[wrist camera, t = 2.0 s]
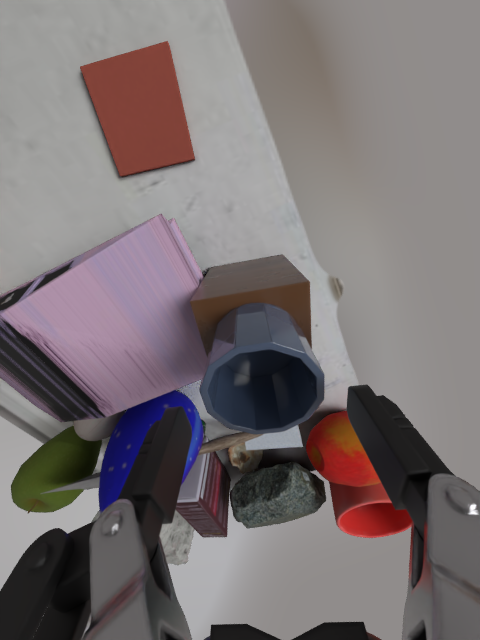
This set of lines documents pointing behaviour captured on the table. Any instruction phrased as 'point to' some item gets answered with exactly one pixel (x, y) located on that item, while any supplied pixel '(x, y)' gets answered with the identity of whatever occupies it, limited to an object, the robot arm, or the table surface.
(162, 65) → the napkin
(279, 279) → the wooden upright block
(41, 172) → the table surface
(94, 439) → the eyeball
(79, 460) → the green oval fruit
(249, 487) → the rock
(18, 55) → the table surface
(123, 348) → the toy car
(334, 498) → the flower pot
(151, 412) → the ornament
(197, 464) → the supplement box
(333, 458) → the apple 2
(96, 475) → the axe
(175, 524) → the decorative stone
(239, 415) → the cup
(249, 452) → the oyster shell
